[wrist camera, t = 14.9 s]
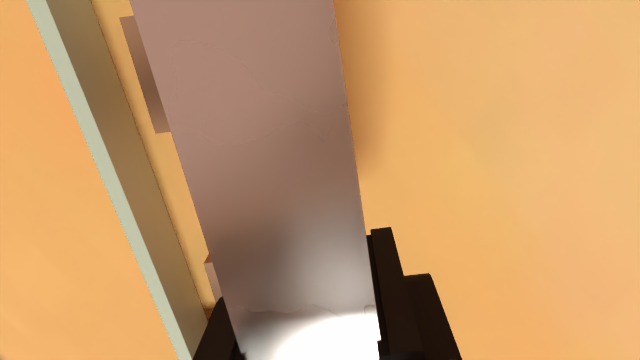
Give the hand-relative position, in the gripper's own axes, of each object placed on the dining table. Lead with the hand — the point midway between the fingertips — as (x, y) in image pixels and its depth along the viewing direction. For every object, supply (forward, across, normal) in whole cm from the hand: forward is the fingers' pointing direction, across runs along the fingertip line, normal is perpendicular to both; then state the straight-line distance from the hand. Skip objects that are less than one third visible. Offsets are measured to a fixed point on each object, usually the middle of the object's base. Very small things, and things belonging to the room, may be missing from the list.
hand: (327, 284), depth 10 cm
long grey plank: (+1, 0, 0) cm, 1 cm away
